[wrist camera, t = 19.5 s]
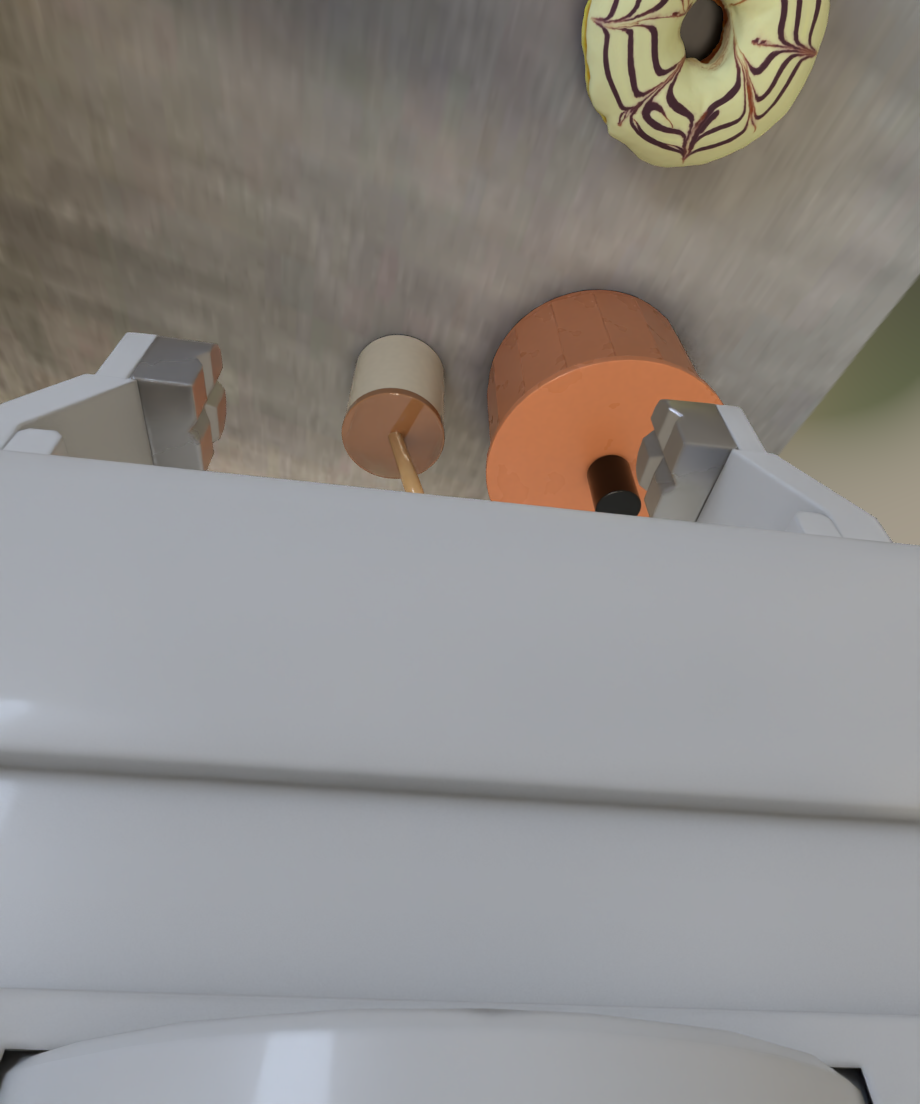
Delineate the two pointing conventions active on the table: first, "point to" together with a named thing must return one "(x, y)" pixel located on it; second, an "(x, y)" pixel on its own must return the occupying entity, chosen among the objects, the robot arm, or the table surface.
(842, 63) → the table surface
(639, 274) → the table surface
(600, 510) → the pot lid
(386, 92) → the table surface
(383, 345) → the crock
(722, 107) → the decorated donut
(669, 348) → the pot
